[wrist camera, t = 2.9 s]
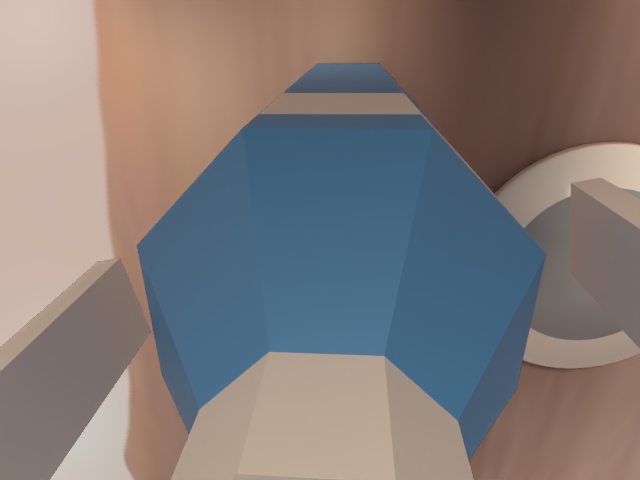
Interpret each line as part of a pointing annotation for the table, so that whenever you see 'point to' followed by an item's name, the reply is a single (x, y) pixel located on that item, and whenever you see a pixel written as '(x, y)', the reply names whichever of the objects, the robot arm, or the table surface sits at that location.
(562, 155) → the cream plate
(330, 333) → the water bottle
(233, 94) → the table surface
